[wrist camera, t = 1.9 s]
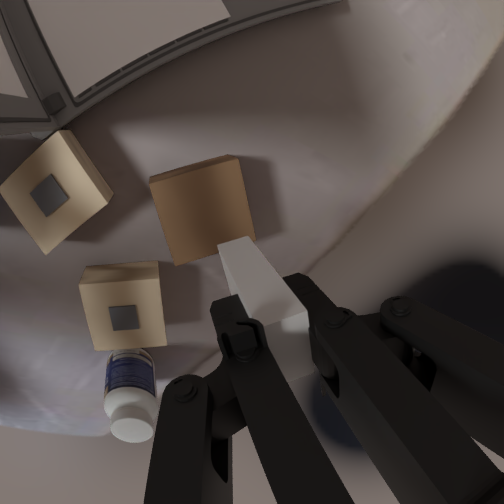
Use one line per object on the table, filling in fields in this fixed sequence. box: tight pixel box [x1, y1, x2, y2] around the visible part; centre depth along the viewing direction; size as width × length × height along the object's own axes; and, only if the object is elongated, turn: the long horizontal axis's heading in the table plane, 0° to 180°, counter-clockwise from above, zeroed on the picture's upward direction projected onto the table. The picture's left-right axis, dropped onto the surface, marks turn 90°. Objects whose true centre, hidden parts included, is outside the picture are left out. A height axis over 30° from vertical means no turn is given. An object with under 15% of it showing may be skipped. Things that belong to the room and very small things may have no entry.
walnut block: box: [149, 154, 256, 266], centre depth 26 cm, size 7×7×4 cm
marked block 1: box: [0, 130, 114, 255], centre depth 22 cm, size 7×7×4 cm
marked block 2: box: [79, 261, 167, 351], centre depth 27 cm, size 7×7×4 cm
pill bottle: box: [104, 348, 158, 443], centre depth 28 cm, size 5×5×10 cm
